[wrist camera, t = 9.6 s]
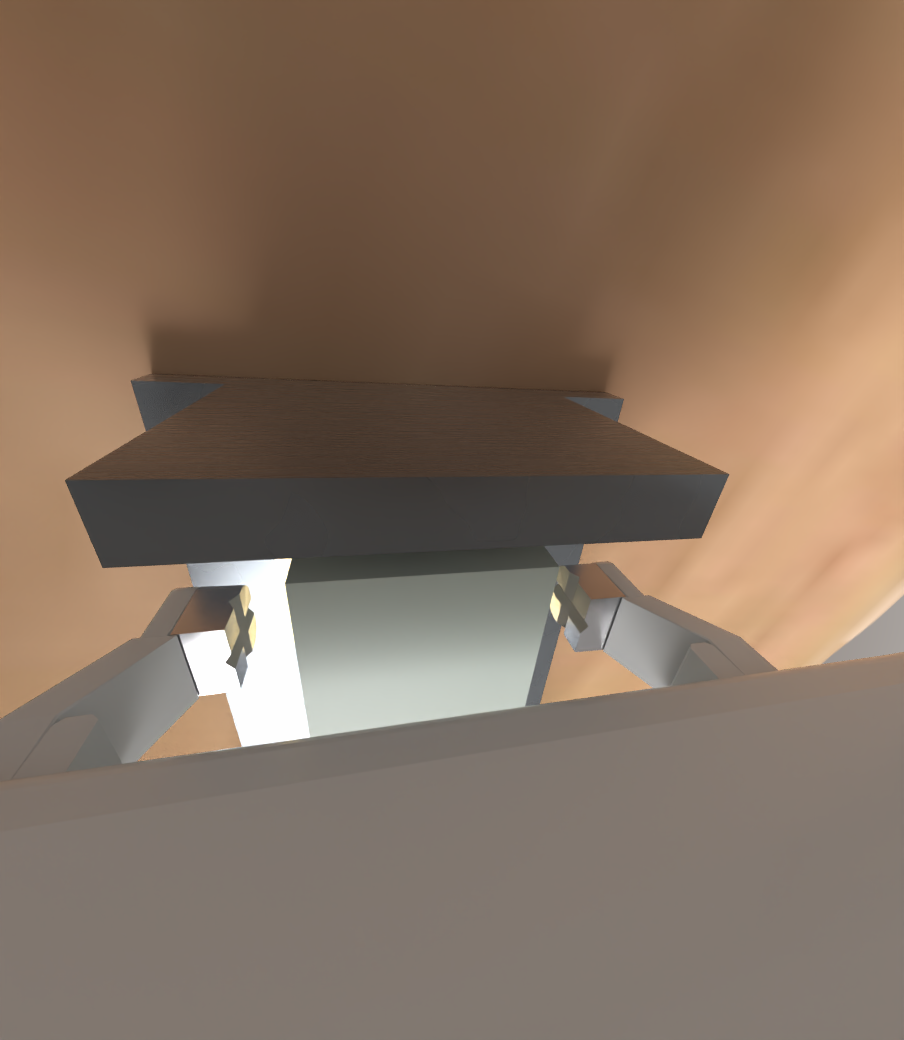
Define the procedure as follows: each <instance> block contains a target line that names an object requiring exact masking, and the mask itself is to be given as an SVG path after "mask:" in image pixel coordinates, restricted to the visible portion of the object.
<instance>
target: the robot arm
mask: <svg viewBox="0 0 904 1040" xmlns="http://www.w3.org/2000/svg"><path fill="white" fill-rule="evenodd" d="M556 581H557V582H558V584H557V585H556V586H555V587H554V591H553V595H552V599H551V603H550V609H551V612H552V615H553V617H554V619H555V620H556V622H557V623H558V624H560V625H562V626H563V627H565V631H564V635H565V637H566V638H567V640H568V642H569V643H570V645H571V646H572V648H573V650H574V651H575V652H581V651H593V650H604V652H605V653H607V654H608V655H609V656H611V657H612V658H613V659H615V660H616V661H617V662H619V663H620V664H621V665H623V666H624V667H625V668H627V669H628V670H630V671H631V672H632V673H634V674H635V675H636V676H638V677H639V678H640V679H642V680H643V681H644V682H646V683H647V684H648V685H650V686H651V687H652V689H645V690H638V691H631V692H624V693H617V694H610V695H602V696H595V697H588V698H581V699H574V700H567V701H560V702H553V703H546V704H539V705H532V706H525V707H518V708H511V709H504V710H497V711H490V712H483V713H476V714H469V715H462V716H455V717H448V718H441V719H434V720H426V721H419V722H412V723H405V724H398V725H391V726H384V727H377V728H370V729H364V730H357V731H350V732H343V733H336V734H329V735H322V736H315V737H308V738H301V739H294V740H287V741H280V742H273V743H266V744H259V745H252V746H245V747H237V748H230V749H223V750H216V751H209V752H202V753H195V754H188V755H181V756H174V757H167V758H160V759H153V760H146V761H139V762H136V761H137V760H138V759H139V758H140V757H141V756H142V755H143V754H144V753H145V752H146V751H147V750H148V749H149V748H150V747H151V746H152V745H153V744H154V743H155V742H156V741H157V740H158V739H159V738H160V737H161V736H162V735H163V734H164V733H165V732H166V731H167V730H168V729H169V728H170V727H171V726H172V725H173V724H174V723H175V722H176V721H177V720H178V719H179V718H180V717H181V716H182V715H183V714H184V713H185V712H186V711H187V710H188V709H189V708H190V707H191V706H192V705H193V704H194V703H195V702H196V701H197V700H198V699H199V697H198V696H202V695H210V694H217V693H224V692H231V691H238V690H241V687H242V684H243V681H244V678H245V675H246V672H247V669H248V664H247V659H246V657H247V656H248V655H249V654H250V653H252V652H253V649H254V646H255V642H256V633H257V625H256V617H255V613H254V612H253V611H252V610H251V609H249V608H248V607H249V604H250V601H251V594H250V591H249V587H248V586H246V585H229V586H205V587H187V588H176V589H174V590H172V591H171V592H170V594H169V595H168V597H167V598H166V600H165V601H164V603H163V604H162V606H161V607H160V609H159V610H158V612H157V613H156V615H155V616H154V618H153V619H152V621H151V622H150V624H149V625H148V627H147V628H146V630H145V631H144V633H143V634H142V636H141V637H140V638H136V639H131V640H129V641H128V642H126V643H124V644H123V645H121V646H119V647H118V648H116V649H114V650H113V651H111V652H110V653H108V654H106V655H105V656H103V657H101V658H100V659H98V660H96V661H95V662H93V663H92V664H90V665H88V666H87V667H85V668H83V669H82V670H80V671H78V672H77V673H75V674H73V675H72V676H70V677H69V678H67V679H65V680H64V681H62V682H60V683H59V684H57V685H55V686H54V687H52V688H50V689H49V690H47V691H46V692H44V693H42V694H41V695H39V696H37V697H36V698H34V699H32V700H31V701H29V702H28V703H26V704H24V705H23V706H21V707H19V708H18V709H16V710H14V711H13V712H11V713H9V714H8V715H6V716H5V717H3V718H1V719H0V1040H904V652H901V653H895V654H889V655H883V656H877V657H869V658H862V659H856V660H849V661H842V662H834V663H827V664H820V665H813V666H806V667H799V668H792V669H785V670H777V669H776V668H775V667H774V666H772V665H771V664H770V663H769V662H768V661H767V660H766V659H765V658H763V657H762V656H761V655H760V654H759V653H758V652H757V651H755V650H754V649H753V648H752V647H751V646H750V645H749V644H747V643H746V642H745V641H744V640H743V639H742V638H741V637H739V636H737V635H734V634H732V633H730V632H728V631H726V630H724V629H721V628H719V627H717V626H715V625H713V624H710V623H708V622H706V621H704V620H702V619H700V618H697V617H695V616H693V615H691V614H689V613H686V612H684V611H682V610H680V609H678V608H676V607H673V606H671V605H669V604H667V603H665V602H662V601H660V600H658V599H656V598H654V597H652V596H649V595H648V596H644V595H643V594H642V593H641V592H640V591H639V590H638V589H637V588H636V587H635V586H634V585H633V584H632V583H631V582H630V581H629V580H628V579H627V578H626V577H625V576H624V575H623V573H622V572H621V571H620V570H619V569H618V568H617V567H616V566H615V565H614V564H613V563H610V562H608V561H607V562H596V563H591V564H577V565H562V566H559V571H558V575H557V579H556Z"/></svg>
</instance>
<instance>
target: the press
mask: <svg viewBox="0 0 904 1040" xmlns="http://www.w3.org/2000/svg"><path fill="white" fill-rule="evenodd" d="M131 383H132V386H133V390H134V393H135V396H136V400H137V403H138V406H139V409H140V413H141V416H142V419H143V423H144V426H145V429H146V432H144V433H143V434H141V435H139V436H138V437H136V438H134V439H133V440H131V441H129V442H128V443H126V444H124V445H123V446H121V447H119V448H118V449H116V450H114V451H113V452H111V453H109V454H108V455H106V456H104V457H103V458H101V459H99V460H98V461H96V462H94V463H93V464H91V465H89V466H88V467H86V468H84V469H83V470H81V471H79V472H78V473H76V474H74V475H73V476H71V477H69V478H68V479H66V480H65V482H66V484H67V486H68V489H69V491H70V493H71V496H72V498H73V500H74V502H75V505H76V507H77V509H78V512H79V514H80V516H81V519H82V521H83V523H84V526H85V528H86V530H87V533H88V535H89V537H90V540H91V542H92V544H93V547H94V549H95V551H96V554H97V556H98V558H99V561H100V563H101V565H102V568H112V567H132V566H152V565H172V564H187V567H188V571H189V574H190V577H191V581H192V584H193V587H205V586H229V585H246V586H248V587H249V591H250V594H251V601H250V604H249V607H248V608H249V609H251V610H252V611H253V612H254V613H255V617H256V625H257V633H256V642H255V646H254V649H253V652H252V653H250V654H249V655H248V656H247V657H246V659H247V664H248V669H247V672H246V675H245V678H244V681H243V684H242V687H241V690H238V691H231V692H226V696H227V699H228V702H229V706H230V709H231V712H232V716H233V719H234V722H235V725H236V729H237V732H238V735H239V739H240V742H241V745H242V747H245V746H252V745H259V744H266V743H273V742H280V741H287V740H294V739H301V738H308V737H310V735H309V729H308V723H307V717H306V711H305V705H304V699H303V693H302V687H301V680H300V674H299V668H298V662H297V656H296V650H295V644H294V638H293V631H292V625H291V619H290V613H289V607H288V601H287V595H286V589H285V581H286V578H287V574H288V570H289V566H290V563H291V559H292V558H313V557H333V556H353V555H373V554H393V553H413V552H433V551H453V550H473V549H493V548H513V547H533V546H544V547H545V548H546V549H547V551H548V552H549V553H550V555H551V556H552V557H553V559H554V560H555V561H556V563H557V564H558V565H559V566H562V565H577V564H578V563H579V560H580V556H581V553H582V549H583V545H584V544H594V543H614V542H634V541H654V540H674V539H694V538H702V535H703V533H704V531H705V528H706V526H707V524H708V522H709V519H710V517H711V515H712V513H713V510H714V508H715V506H716V503H717V501H718V499H719V497H720V494H721V492H722V490H723V488H724V485H725V483H726V481H727V478H728V476H729V474H728V473H726V472H723V471H721V470H719V469H717V468H715V467H713V466H711V465H708V464H706V463H704V462H702V461H700V460H698V459H696V458H693V457H691V456H689V455H687V454H685V453H683V452H681V451H678V450H676V449H674V448H672V447H670V446H668V445H666V444H663V443H661V442H659V441H657V440H655V439H653V438H651V437H648V436H646V435H644V434H642V433H640V432H638V431H636V430H633V429H631V428H629V427H627V426H625V425H623V424H621V423H618V418H619V415H620V411H621V407H622V404H623V400H624V399H622V398H620V397H617V396H614V395H611V394H609V393H605V392H581V391H556V390H532V389H508V388H483V387H459V386H435V385H410V384H386V383H362V382H338V381H313V380H289V379H265V378H240V377H216V376H192V375H167V374H149V375H146V376H143V377H140V378H137V379H134V380H131ZM557 584H558V582H557V581H556V583H555V586H556V585H557ZM560 629H561V625H560V624H558V623H557V622H556V620H555V619H554V617H553V615H552V612H551V609H550V608H549V612H548V616H547V620H546V624H545V628H544V632H543V636H542V640H541V644H540V648H539V652H538V656H537V660H536V664H535V668H534V672H533V676H532V680H531V684H530V688H529V692H528V696H527V700H526V704H525V706H532V705H539V704H540V701H541V698H542V694H543V691H544V687H545V683H546V680H547V676H548V672H549V669H550V665H551V661H552V658H553V654H554V651H555V647H556V643H557V640H558V636H559V632H560Z"/></svg>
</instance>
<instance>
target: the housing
mask: <svg viewBox="0 0 904 1040" xmlns="http://www.w3.org/2000/svg"><path fill="white" fill-rule="evenodd" d="M558 571H559V565H558V564H557V563H556V561H555V560H554V559H553V557H552V556H551V555H550V553H549V552H548V551H547V549H546V548H545V547H544V546H533V547H513V548H493V549H473V550H453V551H433V552H413V553H393V554H373V555H353V556H333V557H313V558H292V559H291V563H290V566H289V570H288V574H287V578H286V581H285V589H286V595H287V601H288V607H289V613H290V619H291V625H292V631H293V638H294V644H295V650H296V656H297V662H298V668H299V674H300V680H301V687H302V693H303V699H304V705H305V711H306V717H307V723H308V729H309V735H310V737H315V736H322V735H329V734H336V733H343V732H350V731H357V730H364V729H370V728H377V727H384V726H391V725H398V724H405V723H412V722H419V721H426V720H434V719H441V718H448V717H455V716H462V715H469V714H476V713H483V712H490V711H497V710H504V709H511V708H518V707H525V704H526V700H527V696H528V692H529V688H530V684H531V680H532V676H533V672H534V668H535V664H536V660H537V656H538V652H539V648H540V644H541V640H542V636H543V632H544V628H545V624H546V620H547V616H548V612H549V608H550V603H551V599H552V595H553V591H554V587H555V583H556V579H557V575H558Z"/></svg>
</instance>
